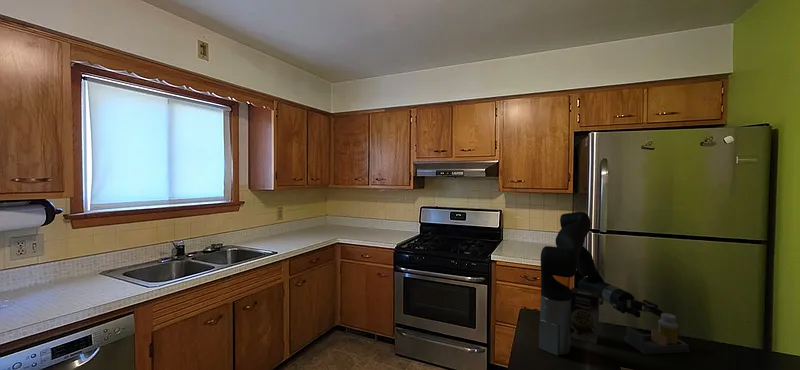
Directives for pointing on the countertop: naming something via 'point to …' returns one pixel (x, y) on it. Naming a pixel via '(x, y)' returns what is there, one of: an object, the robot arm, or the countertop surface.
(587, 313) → the coffee box
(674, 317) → the supplement bottle
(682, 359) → the countertop surface
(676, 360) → the countertop surface
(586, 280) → the robot arm
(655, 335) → the pusher
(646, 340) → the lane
